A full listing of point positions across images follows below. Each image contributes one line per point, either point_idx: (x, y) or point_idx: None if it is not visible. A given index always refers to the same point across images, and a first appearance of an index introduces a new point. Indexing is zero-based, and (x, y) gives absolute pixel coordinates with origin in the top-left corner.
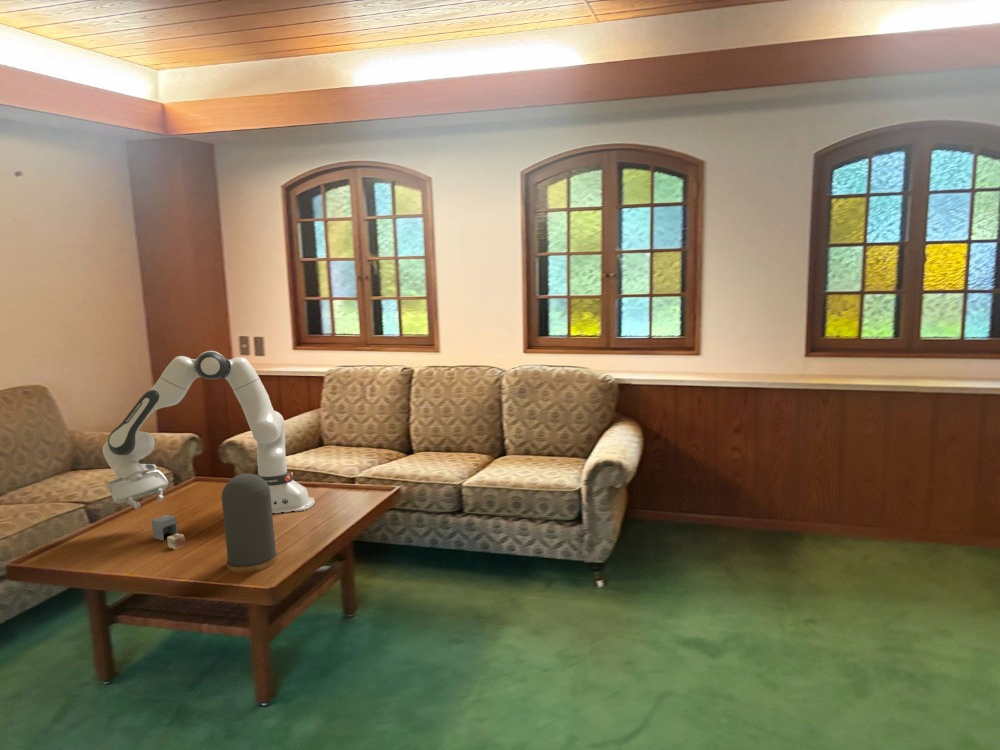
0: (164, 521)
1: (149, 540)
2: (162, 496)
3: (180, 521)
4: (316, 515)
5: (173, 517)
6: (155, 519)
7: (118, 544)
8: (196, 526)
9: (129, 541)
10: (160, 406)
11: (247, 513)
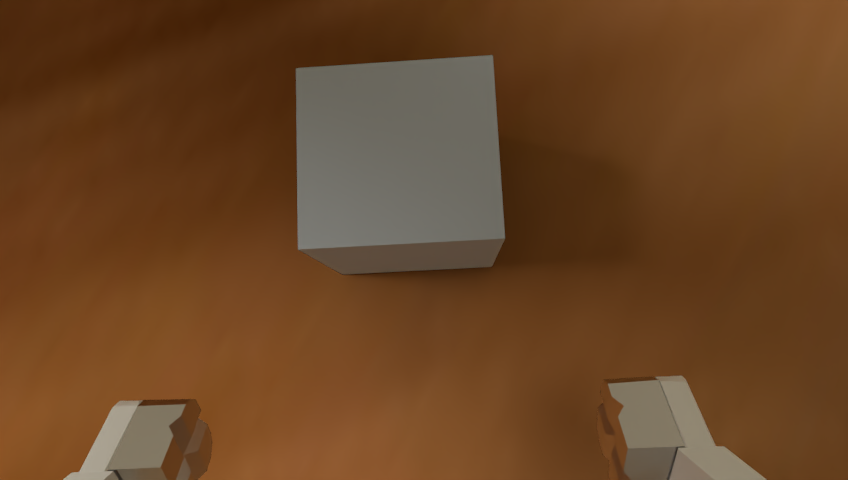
0: (446, 61)
1: (542, 248)
2: (124, 424)
3: None
4: None
5: (321, 74)
6: (470, 206)
7: (755, 423)
8: (130, 188)
9: None
10: None
11: None
